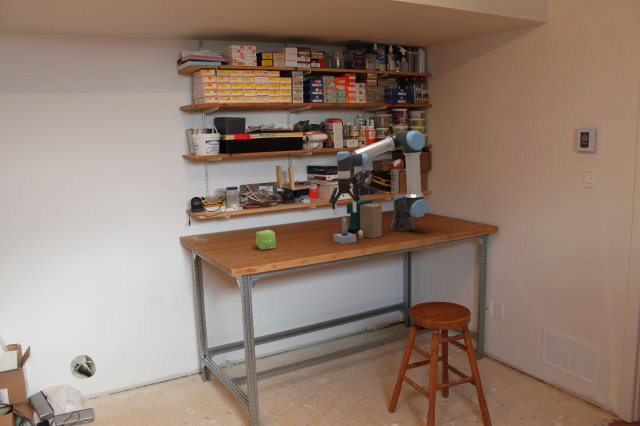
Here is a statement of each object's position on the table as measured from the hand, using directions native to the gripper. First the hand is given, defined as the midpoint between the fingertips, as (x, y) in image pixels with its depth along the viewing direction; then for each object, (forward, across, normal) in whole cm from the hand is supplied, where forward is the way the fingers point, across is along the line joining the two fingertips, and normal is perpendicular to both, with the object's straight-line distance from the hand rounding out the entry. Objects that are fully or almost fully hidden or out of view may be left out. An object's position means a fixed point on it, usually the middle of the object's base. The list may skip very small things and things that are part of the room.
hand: (345, 213), depth 309 cm
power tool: (+18, -26, -21) cm, 38 cm away
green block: (+16, +47, -13) cm, 52 cm away
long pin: (+17, +1, 0) cm, 17 cm away
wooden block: (+18, -20, -3) cm, 27 cm away
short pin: (+17, -11, -1) cm, 21 cm away
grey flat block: (+17, +1, 0) cm, 17 cm away
